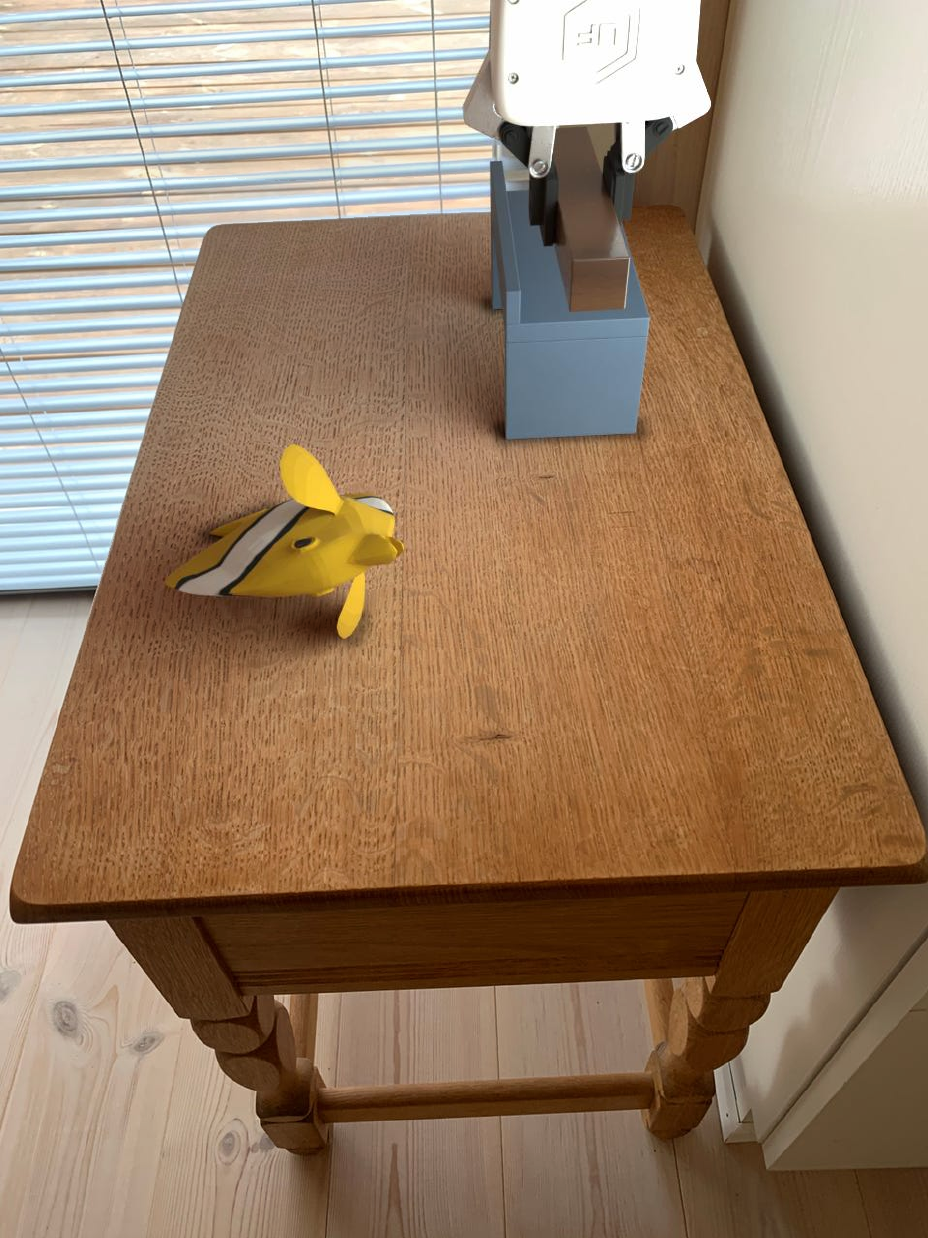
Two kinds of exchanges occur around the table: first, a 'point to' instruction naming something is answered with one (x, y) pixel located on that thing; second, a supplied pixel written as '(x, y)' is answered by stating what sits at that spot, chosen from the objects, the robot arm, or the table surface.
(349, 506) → the fish
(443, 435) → the table surface
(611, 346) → the blue stepped block
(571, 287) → the stick
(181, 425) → the table surface
